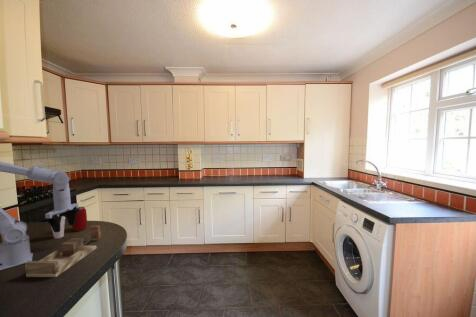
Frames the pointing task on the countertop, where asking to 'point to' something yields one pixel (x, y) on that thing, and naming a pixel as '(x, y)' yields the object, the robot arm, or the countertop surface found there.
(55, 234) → the smoothie
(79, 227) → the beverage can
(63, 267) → the lane shelf
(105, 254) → the countertop surface
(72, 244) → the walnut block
